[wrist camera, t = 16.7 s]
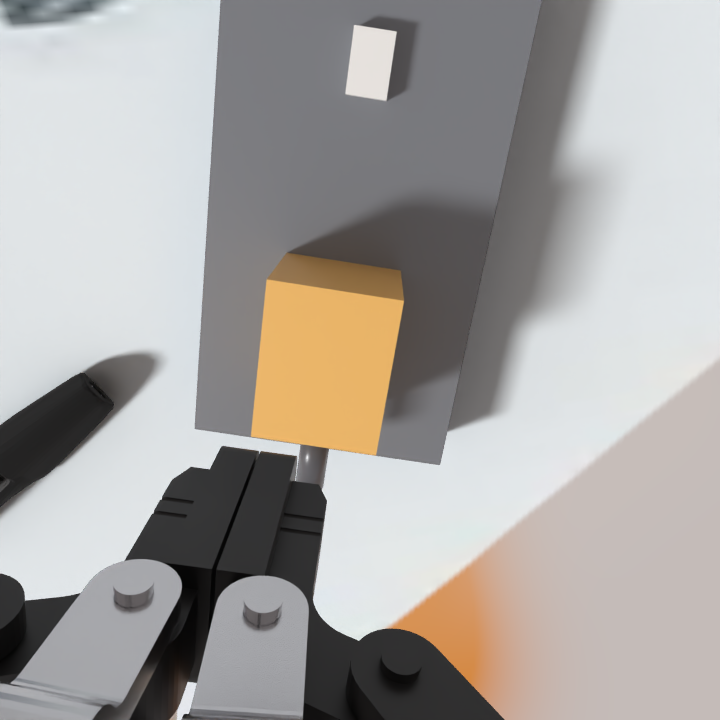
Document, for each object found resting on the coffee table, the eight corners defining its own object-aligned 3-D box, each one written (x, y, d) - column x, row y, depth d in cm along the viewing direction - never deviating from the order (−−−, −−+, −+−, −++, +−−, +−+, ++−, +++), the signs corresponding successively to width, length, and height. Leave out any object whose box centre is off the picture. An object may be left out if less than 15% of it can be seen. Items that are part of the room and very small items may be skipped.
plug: (295, 240, 30) (266, 279, 23) (399, 256, 30) (404, 300, 23) (276, 411, 33) (245, 494, 26) (369, 425, 34) (365, 512, 26)
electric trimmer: (143, 399, 34) (121, 425, 31) (-42, 545, 38) (-78, 580, 35) (93, 347, 33) (65, 368, 30) (-92, 501, 37) (-134, 533, 34)
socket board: (244, -87, 26) (222, -120, 22) (536, -40, 26) (560, -65, 22) (210, 403, 33) (189, 436, 30) (435, 436, 34) (441, 473, 30)
